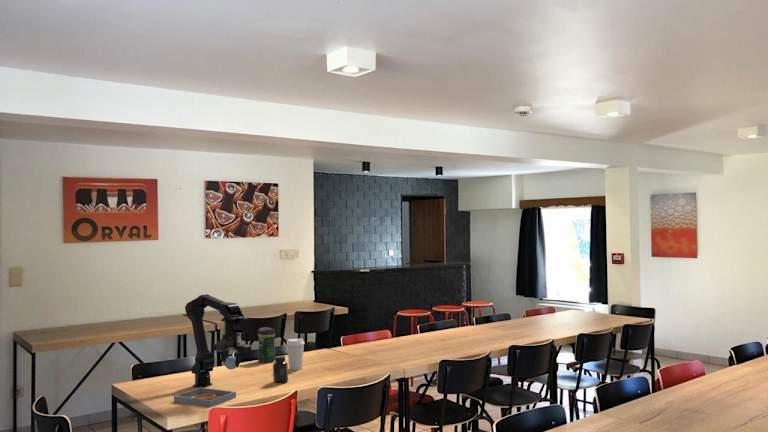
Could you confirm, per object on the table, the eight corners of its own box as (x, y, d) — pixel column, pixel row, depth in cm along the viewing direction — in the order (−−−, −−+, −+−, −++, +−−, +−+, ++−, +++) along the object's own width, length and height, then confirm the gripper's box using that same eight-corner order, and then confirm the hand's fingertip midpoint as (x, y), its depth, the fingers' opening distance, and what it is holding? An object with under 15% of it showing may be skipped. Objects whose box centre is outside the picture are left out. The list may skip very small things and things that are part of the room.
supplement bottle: (288, 380, 308) (288, 355, 308) (287, 383, 301) (286, 357, 301) (274, 380, 308) (274, 355, 308) (272, 384, 301) (272, 358, 301)
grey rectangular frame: (173, 401, 272) (173, 396, 272) (200, 393, 286) (200, 387, 286) (210, 407, 263) (210, 400, 263) (236, 397, 277) (235, 391, 277)
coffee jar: (277, 361, 352) (277, 327, 353) (264, 363, 347) (264, 329, 348) (269, 359, 360) (268, 325, 360) (256, 360, 355) (255, 327, 355)
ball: (221, 370, 287) (221, 356, 287) (230, 367, 293) (230, 354, 293) (232, 371, 285) (232, 357, 285) (241, 368, 290) (241, 355, 290)
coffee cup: (301, 371, 327) (301, 341, 328) (283, 370, 329) (283, 341, 330) (307, 367, 337) (307, 338, 337) (290, 366, 339) (289, 338, 339)
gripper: (202, 333, 286) (203, 368, 285) (235, 335, 278) (236, 372, 277) (219, 329, 296) (219, 363, 295) (252, 331, 288) (252, 366, 287)
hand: (231, 366), depth 289 cm, fingers closed on ball, 6 cm apart
